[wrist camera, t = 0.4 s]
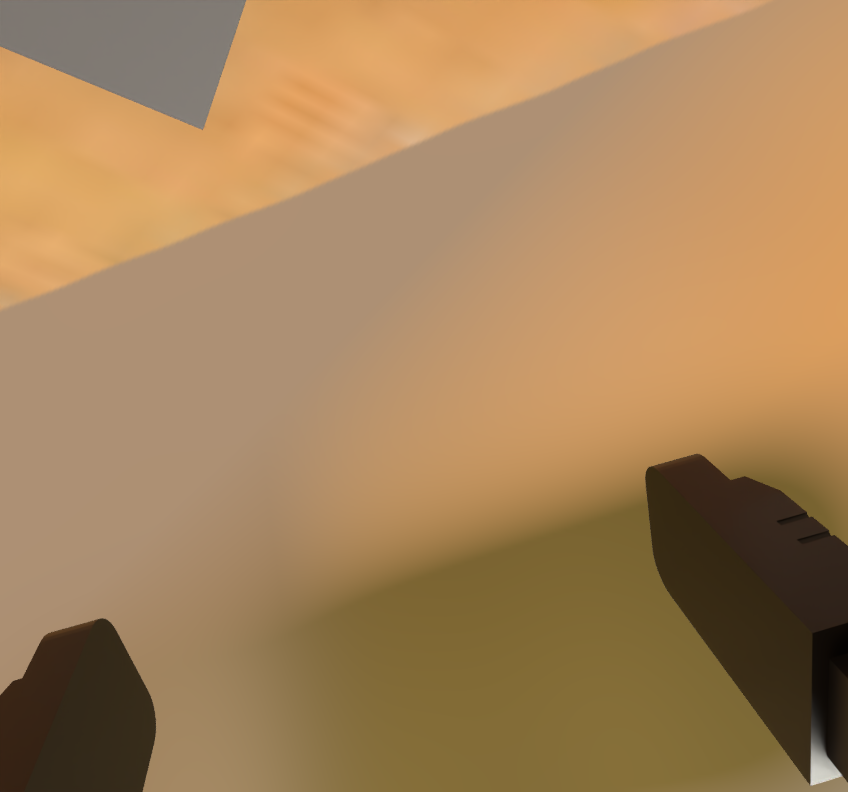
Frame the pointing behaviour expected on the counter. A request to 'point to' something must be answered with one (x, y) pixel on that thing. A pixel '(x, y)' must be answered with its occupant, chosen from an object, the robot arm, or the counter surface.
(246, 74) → the counter surface
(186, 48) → the dial plate
